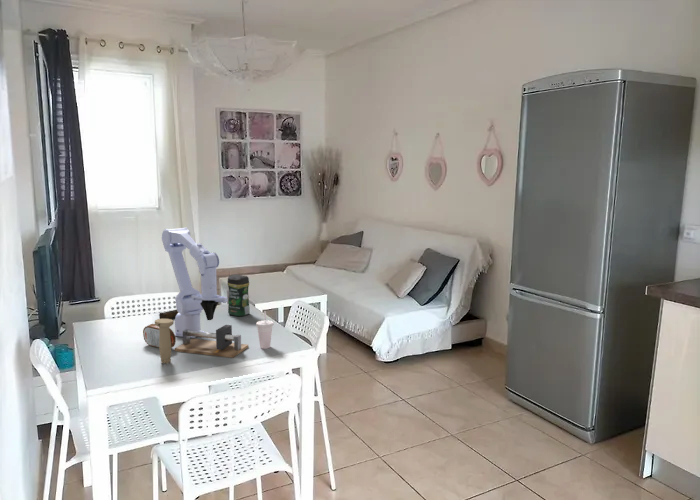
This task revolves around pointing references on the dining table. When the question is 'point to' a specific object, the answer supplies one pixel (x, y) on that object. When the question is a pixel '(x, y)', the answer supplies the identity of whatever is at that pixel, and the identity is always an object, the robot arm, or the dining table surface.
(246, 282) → the coffee jar
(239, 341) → the silver metal rod
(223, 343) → the collar
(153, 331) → the tin
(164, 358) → the handle
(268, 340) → the smoothie
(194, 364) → the dining table surface
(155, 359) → the dining table surface
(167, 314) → the hand tool
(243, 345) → the base board
